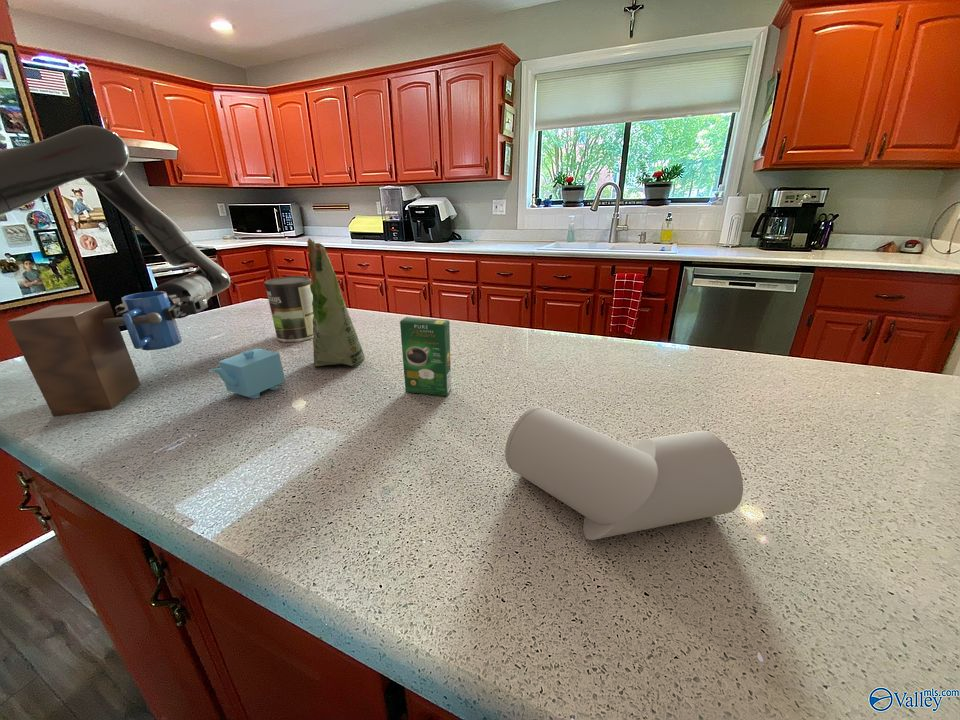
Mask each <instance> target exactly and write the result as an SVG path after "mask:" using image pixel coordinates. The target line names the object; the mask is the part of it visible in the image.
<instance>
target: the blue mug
mask: <svg viewBox="0 0 960 720" xmlns="http://www.w3.org/2000/svg"><path fill="white" fill-rule="evenodd" d="M121 302H122V303H123V304H124V307H125V310H126V312H127V313H125V314H123V316H122V317H123V320H124V322H125V325H124V326H125V328H126V330H127V332H128V335H129V337H130V341H131V343H132V346H133V348H134V349H136V350H142V351H157V350H163V349H168V348H171V347H175V346H177V345H179V344H181V343H182V342H183V339H182V336H181V333H180V330H179V326H178V324H177V320H176V319H174V320H171V321H168V320H167V318H166V315H165V312H164V309H166V308H167V307H169V306H171V305H170V302H169V299H168V296H167V293H166V292H164V291H153V290H152V291H143V292H137V293H132V294H128V295H124V296H122V297H121ZM151 312H155V313H158V314H159V315H160V316H161V317H162V321H161V322H160V323H159V324H157V325H151V324H149V323H145V324H133V322H132V319H131V318H132V317H134V316H143V315H147V314H148V313H151Z"/></svg>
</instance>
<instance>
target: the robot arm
mask: <svg viewBox="0 0 960 720" xmlns="http://www.w3.org/2000/svg"><path fill="white" fill-rule="evenodd" d="M129 159H130V152H129V148H128V146H127V144H126V142H125V141H124V139H122V138H121V137H120V136H119V135H118V134H117V133H115V132H114V131H112V130H110V129H107V128H105V127H103V126H99V125H91V124H89V125H88V124H87V125H85V124H84V125H79V126H76V127H73V128H70V129H69V130H66V131H63V132H61V133H58V134H56V135H53V136H50V137H48V138H46V139H45V138H44V139H43V140H40V141H37V142H33V143H30V144H26V145H21V146H15V147H10V148H6V149H5V148H4V149H1V150H0V216H2V215H4V214H8V213H10V212H13V211H16V210H17V209H20V208H23V207H25V206H27V205H28V204H31V203H32V202H35V201H36V200H38V199H40V198H41V197H44V196H45V195H47V194H49V193H50V192H52V191H53V190H56V189H57V188H59V187H61V186H63V185H65V184H67V183H70V182H74V181H77V180H81V179H84V180H85V181H86V182H87V183H88V184H90V185H91V186H92V188H95V190H97V192H99V193H100V194H101V195H103V196H104V197H105V198H106V199H107V200H108V201H109V202H110V203H111V204H112V205H113V206H115V207H116V209H118V211H120V212H121V213H122V214H123V215H124V216H125V217H126V218H127V219H128V220H129V221H130V222H131V223H132V224H133V225H134V226H135V227H136V228H137V229H138V230H139V231H140V233H141V234H142V235H143V236H144V237H145V239H147V240H148V242H149V243H150V244H151V245H152V247H154V248H155V249H156V250H157V252H158V253H159V254H160V255H161V256H162V257H163V258H164V260H165V261H166V262H167V263H169V265H171V266H173V267H180V266H183V265H186V264H191V265H195V266H197V267H198V268H197V269H196V270H193V271H192V272H190V273H188V274H185V275H183V276H180V277H176V278H175V277H174V278H173V279H170V280H168V281H165V282H164V283H161V284H159V285H157V286H156V287H155V288H154V289H153V290H152V292H153V291H164V292H166V293H167V296H168V299H169V302H170V305H171V306H169V307H167V308H166V309H164V312H165V315H166V318H167V320H168V321H171V320H174V319H175V320H178V319H184V318H187V317H189V316H190V315H197V314H199V313H200V312H202V311H204V310H205V309H207V308H208V307H209V305H208V301H209V300H210V298H211V297H214V296H217V295H218V294H220V293H222V292H223V291H225V290H227V289H228V288H229V287H230V286H231V284H232V283H231V282H232V281H231V277H230V275H229V273H228V272H227V270H225V269H224V268H223V267H222V266H221V265H219V264H218V263H216V262H215V261H214V260H212V259H211V258H210V257H208V256H207V255H206V254H204V253H203V252H202V251H201V250H200V249H199V248H197V246H195V243H193V242H192V240H191V239H190V238H189V237H188V236H187V235H186V233H185V232H184V231H183V230H182V229H181V228H180V227H179V225H178V224H177V222H175V221H174V220H172V219H171V217H170V216H168V215H167V214H166V213H165V212H163V211H162V210H161V209H159V208H158V207H157V206H156V205H154V204H153V203H152V202H150V200H149V199H147V198H146V197H145V196H144V195H143V194H142V193H141V191H139V189H137V187H136V186H135V185H134V184H133V182H132V181H131V179H130V178H129V176H128V175H127V174H126V172H125V169H126V168H127V166H128V163H129ZM114 309H115V311H116V314H115V315H116V318H118V317H122V316H123V314H125V313H127V312H126V310H125V307H124V304H123V302H122V303H120V304H118V305H116V306H115V307H114Z"/></svg>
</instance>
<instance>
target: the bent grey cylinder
mask: <svg viewBox="0 0 960 720" xmlns="http://www.w3.org/2000/svg"><path fill="white" fill-rule="evenodd" d="M504 459H505V464H506V465H507V467H508V468H509V469H510V470H511V471H513V472H514V473H516V474H517V475H519V476H520V477H522V478H524V479H525V480H527V481H528V482H530V483H531V484H533V485H535V486H536V487H538V488H540V489H541V490H543V491H544V492H546V493H547V494H548V495H550V496H552V497H554V498H555V499H557V500H559V501H560V502H562V503H563V504H565V505H567V506H568V507H569V508H571V509H573V510H574V511H576V512H577V513H579V514H580V515H582V516H583V517H584V519H583V525H582V526H583V527H582V529H583V535H584V537H585V539H587V540H590V541H595V540H599V539H605V538H609V537H615V536H620V535H624V534H625V535H626V534H629V533H635V532H639V531H644V530H650V529H655V528H660V527H665V526H669V525H675V524H681V523H685V522H689V521H696V520H700V519H705V518H710V517H715V516H720V515H726V514H730V513H732V512H734V511H735V510H736V509H738V507H739V505H740V504H741V501H742V498H743V494H744V480H743V475H742V471H741V467H740V465H739V463H738V461H737V459H736V457H735V455H734V453H733V452H732V450H731V449H730V448H729V446H728V445H727V444H726V443H725V442H724V441H723V440H722V439H721V438H720V437H718V436H716V435H715V434H714V433H711V432H709V431H705V430H696V431H695V430H694V431H690V432H689V431H688V432H682V433H676V434H669V435H663V436H662V435H661V436H656V437H649V438H644V439H641V440H639V441H637V442H636V443H634V444H632V445H631V446H630V445H628V444H626V443H624V442H621V441H619V440H617V439H615V438H613V437H610V436H608V435H605V434H604V433H601V432H599V431H597V430H594V429H593V428H590V427H589V426H585V425H584V424H581V423H579V422H577V421H574V420H572V419H570V418H568V417H566V416H563V415H562V414H559V413H557V412H555V411H552V410H550V409H549V408H546V407H543V406H533V407H531V408H529V409H527V410H526V411H524V413H522V414H521V416H519V418H518V419H517V420H516V421H515V422H514V424H513V426H512V428H511V429H510V432H509V434H508V437H507V439H506V444H505V449H504Z"/></svg>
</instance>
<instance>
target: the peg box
mask: <svg viewBox="0 0 960 720" xmlns="http://www.w3.org/2000/svg"><path fill="white" fill-rule="evenodd" d="M131 319H132V322H133V324H145V323H149V324H151V325H157V324H159V323H160V322H161V321H162V317H161V316H160V315H159V314H158V313H155V312H151V313H148V314H147V315H143V316H134V317H132V318H131ZM6 324H7V326H8V328H9V329H10V331H11V334H12V336H13V338H14V340H15V342H16V344H17V346H18V348H19V350H20V351H21V354H22V356H23V357H24V360H25V362H26V364H27V366H28V369H29V370H30V373H31V374H32V377H33V378H34V380H35V382H36V385H37V386H38V389H39V391H40V393H41V394H42V397H43V399H44V400H45V403H46V405H47V407H48V408H49V411H50V413H51V415H52V417H59V416H65V415H66V416H67V415H74V414H81V413H82V414H83V413H90V412H98V411H104V410H112V409H113V408H115V407H116V406H117V405H119V403H121V401H123V400H124V399H125V398H126V397H127V396H128V395H130V394H131V393H132V392H134V390H136V389H137V388H138V387H139V386H140V385H141V381H140V379H139V376H138V373H137V371H136V368H135V366H134V363H133V360H132V358H131V355H130V353H129V350H128V347H127V344H126V342H125V339H124V336H123V334H122V332H121V329H120V327H121V326H126V325H125V322H124V320H123V317H118V318H117V317H116V316H115V312H114V311H113V308H112V306H111V303H110V301H107V300H106V301H94V302H81V303H68V304H67V303H65V304H52V305H49V306H46V307H44V308H40V309H38V310H35V311H33V312H30V313H27V314H24V315H21V316H17V317H16V318H13V319H10V320H7V321H6Z"/></svg>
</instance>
